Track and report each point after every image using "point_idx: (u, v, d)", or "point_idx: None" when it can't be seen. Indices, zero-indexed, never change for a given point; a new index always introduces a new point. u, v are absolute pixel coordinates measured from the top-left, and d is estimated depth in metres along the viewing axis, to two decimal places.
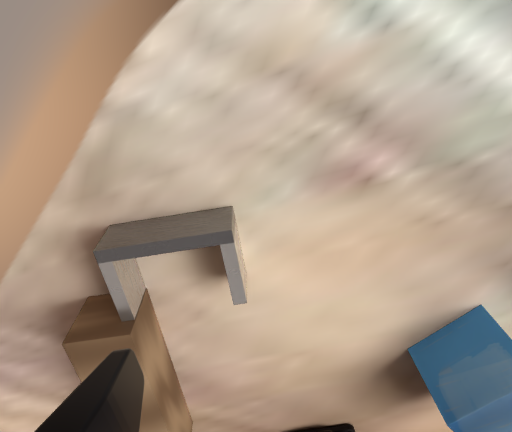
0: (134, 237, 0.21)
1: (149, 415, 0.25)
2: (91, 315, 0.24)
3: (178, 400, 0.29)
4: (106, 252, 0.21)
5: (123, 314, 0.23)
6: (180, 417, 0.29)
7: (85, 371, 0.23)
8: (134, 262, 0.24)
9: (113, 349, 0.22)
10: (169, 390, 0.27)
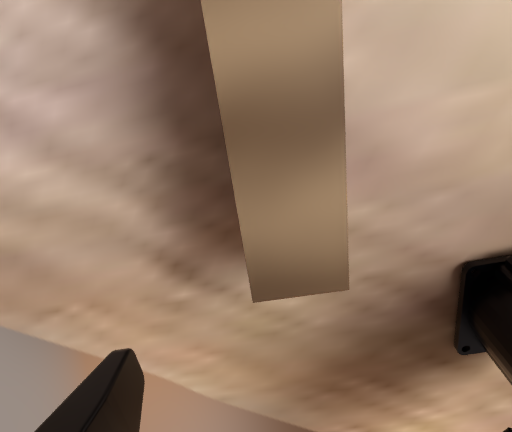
0: None
1: (319, 123, 0.12)
2: None
3: None
4: None
5: None
6: None
7: None
8: None
9: None
10: None
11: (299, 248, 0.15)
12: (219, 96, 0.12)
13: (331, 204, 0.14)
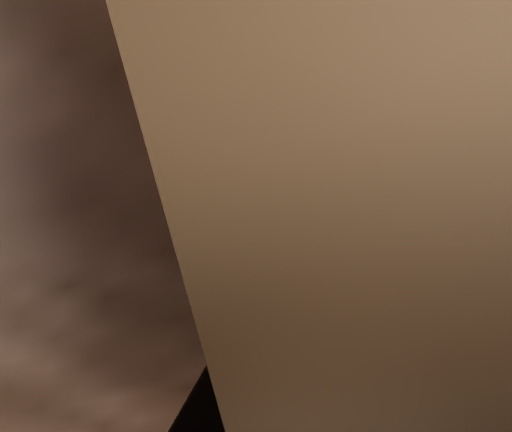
0: None
1: None
2: None
3: None
4: None
5: None
6: None
7: None
8: None
9: None
10: None
11: None
12: (187, 269, 0.03)
13: None
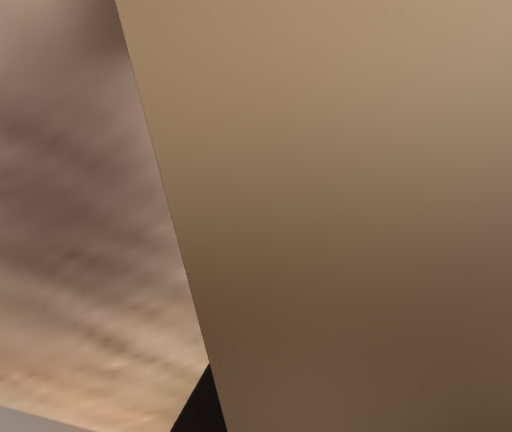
0: None
1: (500, 296, 0.04)
2: None
3: None
4: None
5: None
6: None
7: None
8: None
9: None
10: None
11: None
12: (181, 231, 0.04)
13: None
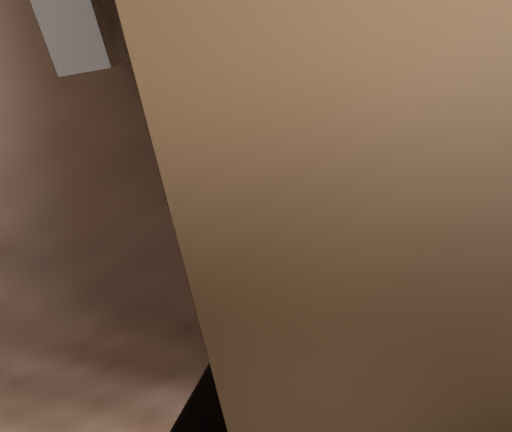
0: None
1: (499, 296, 0.04)
2: None
3: None
4: None
5: (63, 37, 0.05)
6: None
7: None
8: None
9: None
10: None
11: None
12: (181, 230, 0.04)
13: None
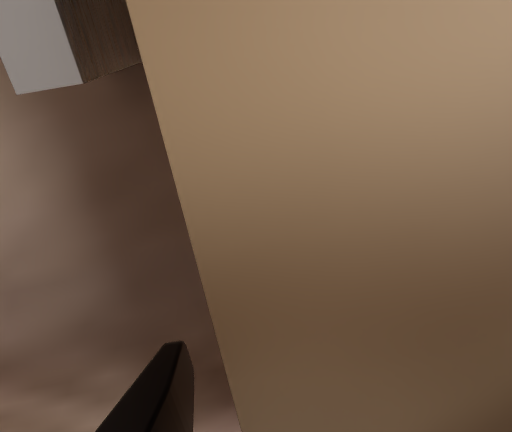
0: None
1: (477, 297, 0.05)
2: None
3: None
4: None
5: (20, 46, 0.04)
6: None
7: None
8: None
9: None
10: None
11: None
12: (197, 245, 0.04)
13: None
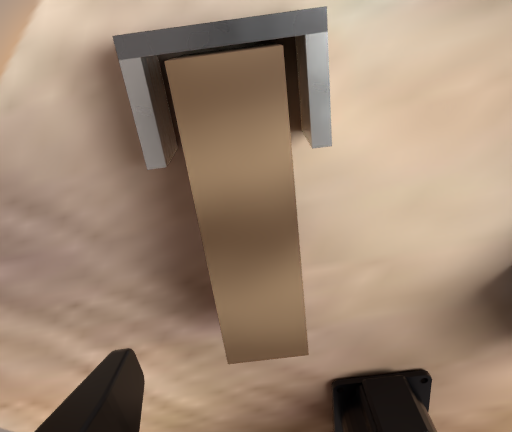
0: None
1: (278, 232, 0.16)
2: (199, 54, 0.15)
3: None
4: (133, 39, 0.13)
5: (150, 157, 0.15)
6: None
7: (193, 129, 0.14)
8: (165, 98, 0.17)
9: (248, 79, 0.13)
10: None
11: (265, 322, 0.18)
12: (198, 213, 0.15)
13: (290, 290, 0.17)
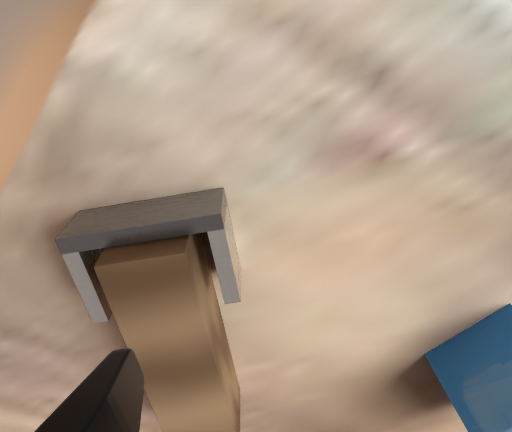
0: (105, 223, 0.18)
1: (200, 370, 0.19)
2: None
3: (228, 359, 0.23)
4: (71, 240, 0.17)
5: (94, 315, 0.19)
6: (230, 379, 0.23)
7: (122, 307, 0.17)
8: None
9: (160, 275, 0.17)
10: (220, 343, 0.22)
11: (200, 431, 0.21)
12: None
13: (217, 408, 0.21)
